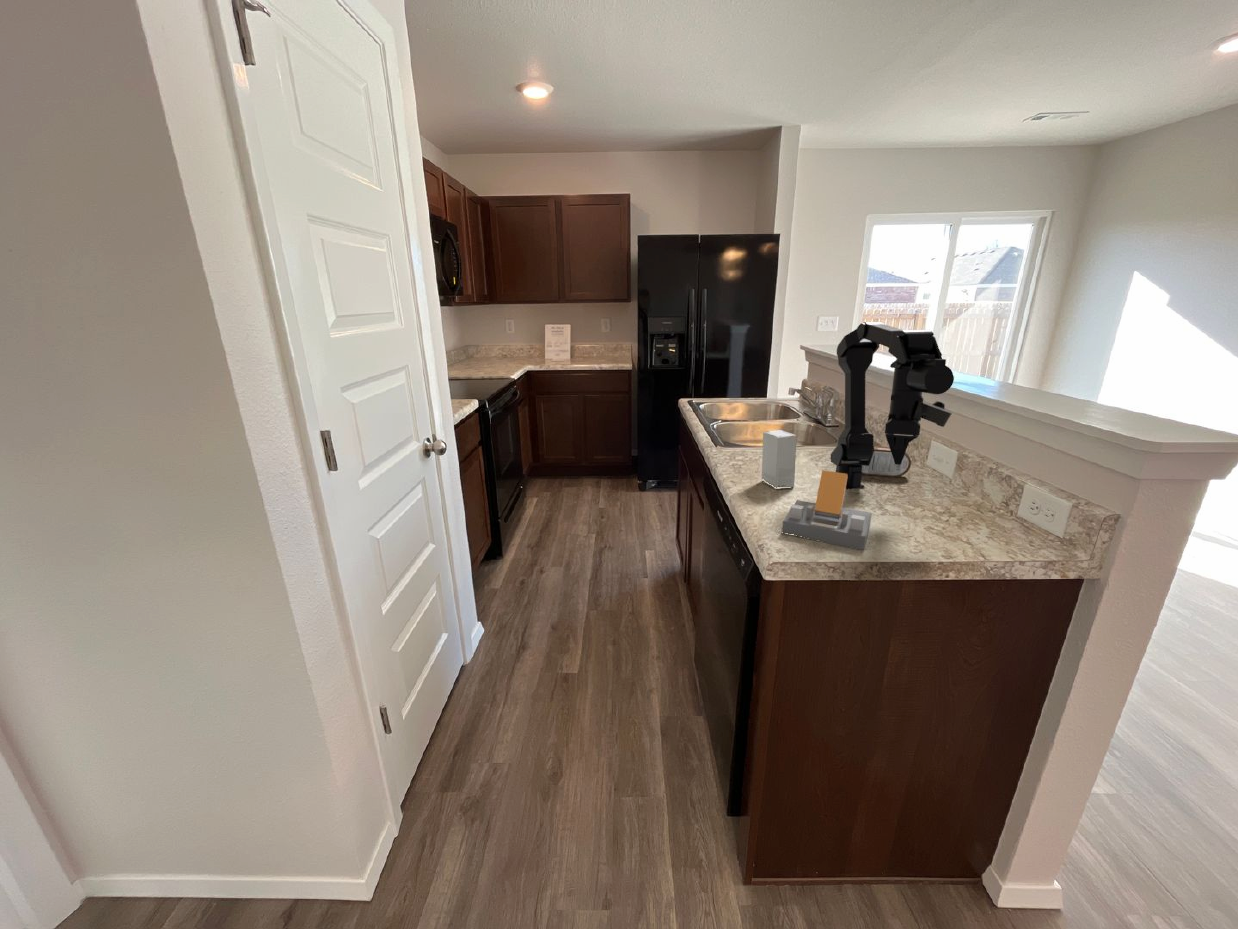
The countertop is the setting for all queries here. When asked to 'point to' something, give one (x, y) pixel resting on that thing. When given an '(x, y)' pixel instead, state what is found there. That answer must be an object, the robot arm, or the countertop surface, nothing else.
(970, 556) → the countertop surface
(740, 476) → the countertop surface
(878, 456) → the tin
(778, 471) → the skincare box
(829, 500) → the lever
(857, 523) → the box
